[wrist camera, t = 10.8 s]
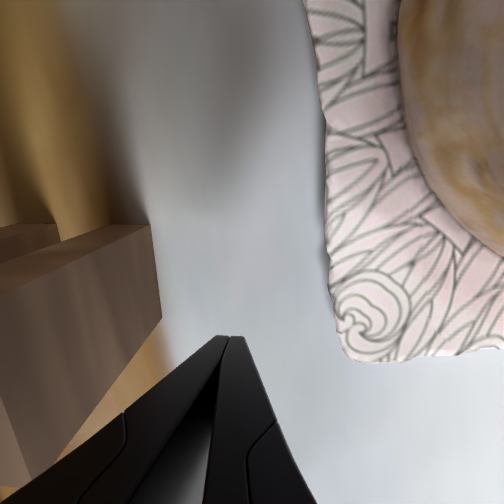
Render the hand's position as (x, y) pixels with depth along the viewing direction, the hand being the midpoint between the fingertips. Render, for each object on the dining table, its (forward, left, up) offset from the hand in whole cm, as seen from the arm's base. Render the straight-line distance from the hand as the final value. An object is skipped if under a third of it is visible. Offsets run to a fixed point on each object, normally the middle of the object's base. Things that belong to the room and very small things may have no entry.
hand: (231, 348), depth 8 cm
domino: (-4, +4, -6) cm, 8 cm away
